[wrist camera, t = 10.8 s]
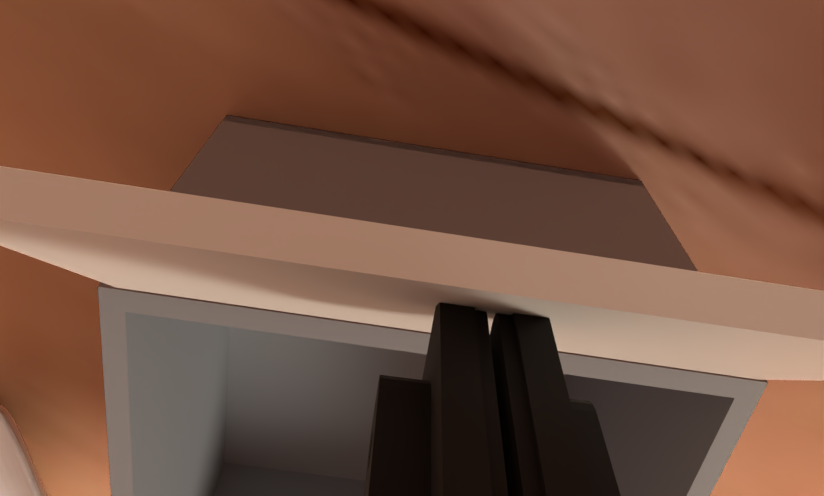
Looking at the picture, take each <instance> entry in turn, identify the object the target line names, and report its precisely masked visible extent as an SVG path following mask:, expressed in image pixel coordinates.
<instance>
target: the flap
mask: <svg viewBox="0 0 824 496" xmlns="http://www.w3.org/2000/svg"><path fill="white" fill-rule="evenodd" d="M0 246H3V247H5V248H8V249H11V250H14V251H17V252H19V253H22V254H25V255H28V256H30V257H33V258H36V259H39V260H41V261H44V262H47V263H50V264H52V265H55V266H58V267H61V268H64V269H66V270H69V271H72V272H75V273H77V274H80V275H83V276H86V277H88V278H91V279H94V280H97V281H99V282H102V283H105V284H108V285H110V286H113V287H116V288H123V289H130V290H137V291H144V292H151V293H158V294H165V295H172V296H179V297H186V298H193V299H200V300H207V301H214V302H221V303H228V304H235V305H242V306H249V307H256V308H263V309H269V310H276V311H283V312H290V313H297V314H304V315H311V316H318V317H325V318H332V319H339V320H346V321H353V322H360V323H367V324H374V325H381V326H388V327H395V328H402V329H409V330H416V331H423V332H430V333H431V329H432V323H433V318H434V313H435V307H436V305H437V304H438V303H440V302H442V303H449V304H456V305H463V306H470V307H475V310H477V311H485V312H487V317H488V325H489V334H490V332H491V327H492V323H493V319H494V316H495V314H496V313H500V314H508V315H512V314H513V313H519V314H526V315H533V316H540V317H547V318H550V322H551V326H552V330H553V334H554V338H555V342H556V346H557V350H558V351H562V352H569V353H576V354H583V355H590V356H597V357H604V358H611V359H618V360H625V361H632V362H639V363H646V364H653V365H660V366H667V367H674V368H681V369H688V370H695V371H702V372H709V373H716V374H723V375H730V376H737V377H744V378H751V379H758V380H813V381H824V291H823V290H816V289H810V288H803V287H797V286H790V285H783V284H777V283H770V282H764V281H757V280H751V279H744V278H737V277H731V276H724V275H718V274H711V273H704V272H698V271H691V270H685V269H678V268H671V267H665V266H658V265H652V264H645V263H639V262H632V261H625V260H619V259H612V258H606V257H599V256H592V255H586V254H579V253H573V252H566V251H559V250H553V249H546V248H540V247H533V246H526V245H520V244H513V243H507V242H500V241H494V240H487V239H480V238H474V237H467V236H461V235H454V234H447V233H441V232H434V231H428V230H421V229H414V228H408V227H401V226H395V225H388V224H381V223H375V222H368V221H362V220H355V219H349V218H342V217H335V216H329V215H322V214H316V213H309V212H302V211H296V210H289V209H283V208H276V207H269V206H263V205H256V204H250V203H243V202H236V201H230V200H223V199H217V198H210V197H204V196H197V195H190V194H184V193H177V192H171V191H164V190H157V189H151V188H144V187H138V186H131V185H124V184H118V183H111V182H105V181H98V180H91V179H85V178H78V177H72V176H65V175H59V174H52V173H45V172H39V171H32V170H26V169H19V168H12V167H6V166H0Z"/></svg>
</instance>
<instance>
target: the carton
mask: <svg viewBox="0 0 824 496" xmlns="http://www.w3.org/2000/svg"><path fill="white" fill-rule="evenodd" d="M170 191H171V192H177V193H184V194H190V195H197V196H204V197H210V198H217V199H223V200H230V201H236V202H243V203H250V204H256V205H263V206H269V207H276V208H283V209H289V210H296V211H302V212H309V213H316V214H322V215H329V216H335V217H342V218H349V219H355V220H362V221H368V222H375V223H381V224H388V225H395V226H401V227H408V228H414V229H421V230H428V231H434V232H441V233H447V234H454V235H461V236H467V237H474V238H480V239H487V240H494V241H500V242H507V243H513V244H520V245H526V246H533V247H540V248H546V249H553V250H559V251H566V252H573V253H579V254H586V255H592V256H599V257H606V258H612V259H619V260H625V261H632V262H639V263H645V264H652V265H658V266H665V267H671V268H678V269H685V270H691V271H698V270H697V269H696V267H695V266H694V264H693V262H692V261H691V259H690V258H689V256H688V255H687V253H686V251H685V250H684V248H683V247H682V245H681V243H680V242H679V240H678V239H677V237H676V235H675V234H674V232H673V231H672V229H671V227H670V226H669V224H668V223H667V221H666V219H665V218H664V216H663V215H662V213H661V211H660V210H659V208H658V207H657V205H656V204H655V202H654V200H653V199H652V197H651V196H650V194H649V192H648V191H647V189H646V188H645V186H644V184H643V183H642V181H639V180H633V179H627V178H620V177H614V176H608V175H601V174H595V173H589V172H583V171H576V170H570V169H564V168H557V167H551V166H545V165H538V164H532V163H526V162H519V161H513V160H507V159H501V158H494V157H488V156H482V155H475V154H469V153H463V152H456V151H450V150H444V149H438V148H431V147H425V146H419V145H412V144H406V143H400V142H393V141H387V140H381V139H374V138H368V137H362V136H356V135H349V134H343V133H337V132H330V131H324V130H318V129H311V128H305V127H299V126H292V125H286V124H280V123H274V122H267V121H261V120H255V119H248V118H242V117H236V116H229V115H226V117H225V118H224V119H223V121H222V122H221V123H220V125H219V126H218V127H217V129H216V130H215V131H214V133H213V134H212V135H211V137H210V138H209V139H208V141H207V142H206V143H205V145H204V146H203V147H202V149H201V150H200V151H199V153H198V154H197V155H196V157H195V158H194V159H193V161H192V162H191V163H190V165H189V166H188V167H187V169H186V170H185V171H184V173H183V174H182V175H181V177H180V178H179V179H178V181H177V182H176V183H175V185H174V186H173V187H172V189H171V190H170ZM98 297H99V313H100V328H101V344H102V360H103V375H104V391H105V407H106V423H107V438H108V454H109V470H110V485H111V496H364V488H365V479H366V470H367V461H368V452H369V444H370V436H371V428H372V421H373V414H374V407H375V400H376V394H377V387H378V381H379V376H380V375H387V376H395V377H403V378H411V379H419V380H422V377H423V372H424V366H425V361H426V356H427V350H428V345H429V339H430V334H431V333H430V332H423V331H416V330H409V329H402V328H395V327H388V326H381V325H374V324H367V323H360V322H353V321H346V320H339V319H332V318H325V317H318V316H311V315H304V314H297V313H290V312H283V311H276V310H269V309H263V308H256V307H249V306H242V305H235V304H228V303H221V302H214V301H207V300H200V299H193V298H186V297H179V296H172V295H165V294H158V293H151V292H144V291H137V290H130V289H123V288H116V287H113V286H110V285H108V284H105V283H102V282H101V283H100V285H99V286H98ZM558 354H559V358H560V362H561V366H562V370H563V374H564V378H565V382H566V386H567V390H568V394H569V398H570V399H579V400H587V401H590V402H591V403H592V404H593V405H594V407H595V410H596V412H597V416H598V419H599V423H600V426H601V429H602V433H603V436H604V440H605V443H606V447H607V450H608V454H609V457H610V461H611V464H612V467H613V471H614V474H615V478H616V481H617V485H618V488H619V492H620V495H621V496H710V494H711V492H712V490H713V488H714V486H715V484H716V482H717V481H718V479H719V477H720V475H721V473H722V471H723V469H724V467H725V465H726V463H727V461H728V459H729V457H730V455H731V453H732V451H733V449H734V448H735V446H736V444H737V442H738V440H739V438H740V436H741V434H742V432H743V430H744V428H745V426H746V424H747V422H748V420H749V418H750V416H751V415H752V413H753V411H754V409H755V407H756V405H757V403H758V401H759V399H760V397H761V395H762V393H763V391H764V389H765V387H766V385H767V384H768V382H767V380H758V379H751V378H744V377H737V376H730V375H723V374H716V373H709V372H702V371H695V370H688V369H681V368H674V367H667V366H660V365H653V364H646V363H639V362H632V361H625V360H618V359H611V358H604V357H597V356H590V355H583V354H576V353H569V352H562V351H558Z"/></svg>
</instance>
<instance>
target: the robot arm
mask: <svg viewBox="0 0 824 496" xmlns="http://www.w3.org/2000/svg"><path fill="white" fill-rule="evenodd" d="M364 496H621V495H620V492H619V488H618V485H617V481H616V478H615V474H614V471H613V467H612V464H611V461H610V457H609V454H608V450H607V447H606V443H605V440H604V436H603V433H602V429H601V426H600V423H599V419H598V416H597V412H596V410H595V407H594V405H593V404H592V403H591V402H590V401H587V400H579V399H570V398H569V394H568V390H567V386H566V382H565V378H564V374H563V370H562V366H561V362H560V358H559V354H558V350H557V346H556V342H555V338H554V334H553V330H552V326H551V322H550V318H547V317H540V316H533V315H526V314H519V313H513V314H512V315H508V314H500V313H496V314H495V316H494V319H493V323H492V327H491V332H490V334H489V325H488V317H487V312H485V311H477V310H475V307H470V306H463V305H456V304H449V303H442V302H440V303H438V304H437V305H436V307H435V313H434V318H433V323H432V329H431V334H430V339H429V345H428V350H427V356H426V361H425V366H424V372H423V377H422V380H419V379H411V378H403V377H395V376H387V375H380V376H379V381H378V387H377V394H376V400H375V407H374V414H373V421H372V428H371V436H370V444H369V452H368V461H367V470H366V479H365V488H364Z"/></svg>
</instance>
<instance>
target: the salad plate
mask: <svg viewBox="0 0 824 496" xmlns="http://www.w3.org/2000/svg"><path fill="white" fill-rule="evenodd" d="M0 496H47V494H46V492H45V490H44V487H43V485H42V483H41V481H40V478H39V476H38V474H37V472H36V469H35V467H34V465H33V463H32V460H31V458H30V455H29V453H28V450H27V448H26V446H25V443H24V441H23V438H22V436H21V434H20V431H19V429H18V427H17V425H16V423H15V421H14V419H13V418H12V416H11V415H10V413H9V412H8V411H7V409H6V408H5V407H3V406H2V405H1V404H0Z"/></svg>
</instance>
